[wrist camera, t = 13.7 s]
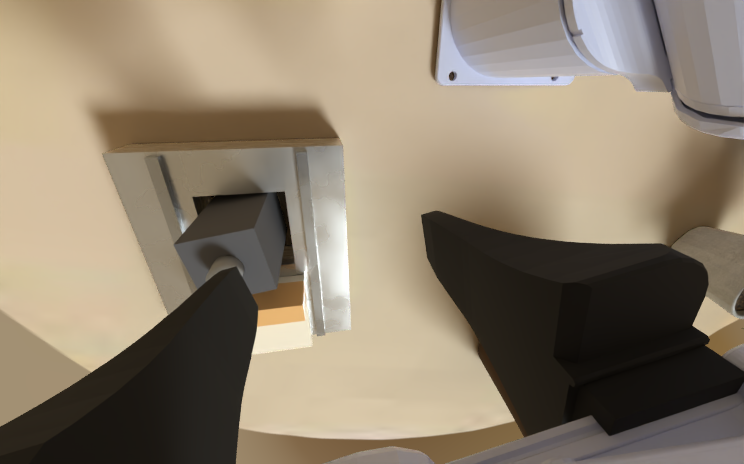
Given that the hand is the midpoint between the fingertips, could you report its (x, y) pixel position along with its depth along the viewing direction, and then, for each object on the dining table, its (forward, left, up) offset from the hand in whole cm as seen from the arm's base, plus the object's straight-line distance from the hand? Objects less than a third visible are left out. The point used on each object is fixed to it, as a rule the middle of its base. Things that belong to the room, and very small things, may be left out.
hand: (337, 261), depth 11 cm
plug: (+5, +2, -10) cm, 11 cm away
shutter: (+5, +8, -7) cm, 12 cm away
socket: (+5, +4, -10) cm, 12 cm away
